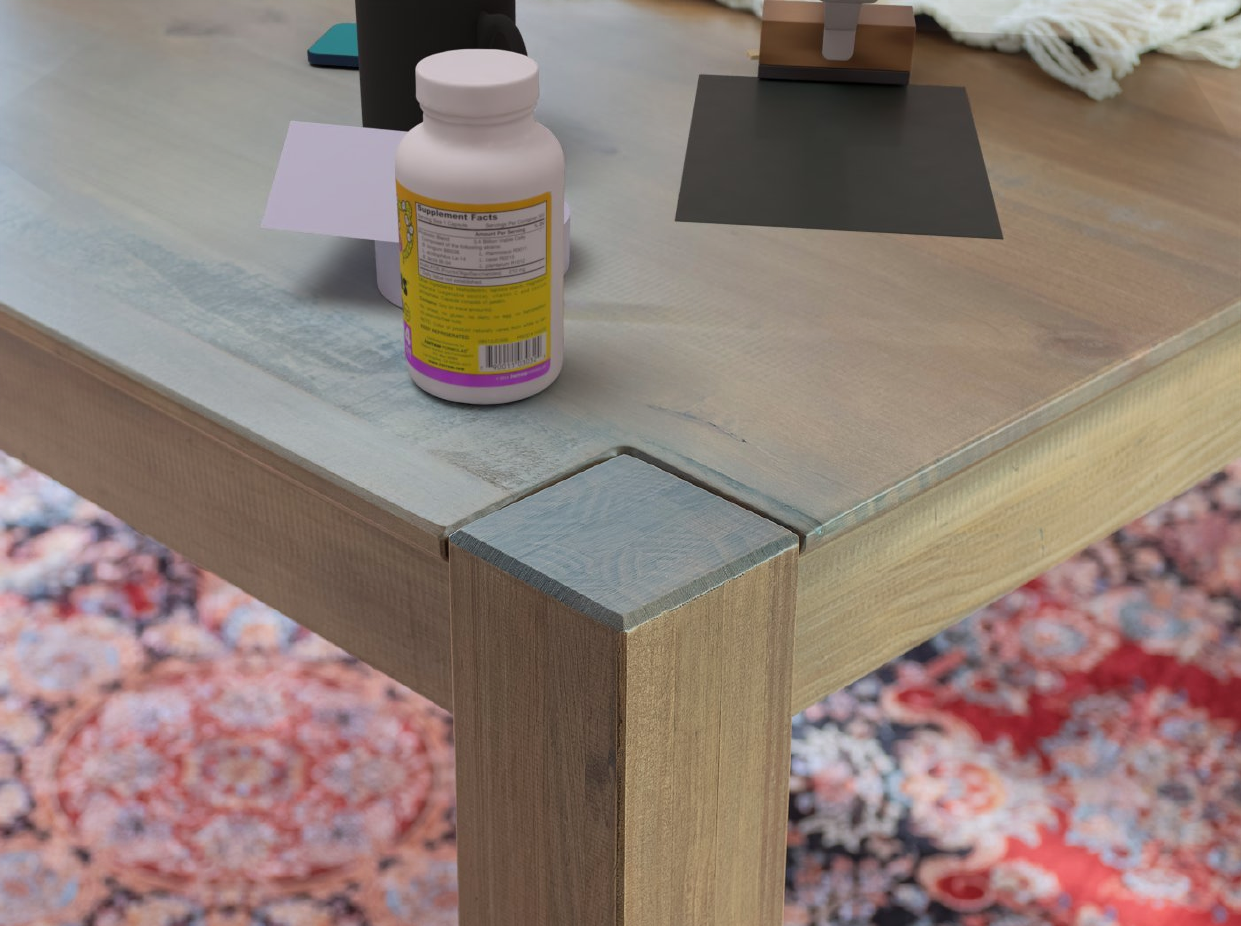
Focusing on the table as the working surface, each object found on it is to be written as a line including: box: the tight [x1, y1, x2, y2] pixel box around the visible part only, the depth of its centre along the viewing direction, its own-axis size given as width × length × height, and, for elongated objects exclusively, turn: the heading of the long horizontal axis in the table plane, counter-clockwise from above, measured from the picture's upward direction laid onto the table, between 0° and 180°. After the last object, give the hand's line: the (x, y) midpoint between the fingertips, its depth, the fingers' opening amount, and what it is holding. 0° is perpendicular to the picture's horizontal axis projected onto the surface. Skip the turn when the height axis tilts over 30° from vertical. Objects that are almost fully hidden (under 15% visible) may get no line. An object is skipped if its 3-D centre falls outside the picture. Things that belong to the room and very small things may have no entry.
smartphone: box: [306, 22, 359, 68], centre depth 107 cm, size 7×1×15 cm
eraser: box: [757, 0, 917, 85], centre depth 101 cm, size 9×5×3 cm, turn 83°
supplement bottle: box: [395, 49, 565, 405], centre depth 67 cm, size 7×7×13 cm
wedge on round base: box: [259, 120, 571, 309], centre depth 77 cm, size 9×7×13 cm
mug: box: [354, 0, 529, 132], centre depth 88 cm, size 8×12×10 cm
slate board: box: [674, 73, 1004, 240], centre depth 92 cm, size 16×24×1 cm, turn 174°
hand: (835, 42), depth 101 cm, fingers closed on eraser, 4 cm apart
